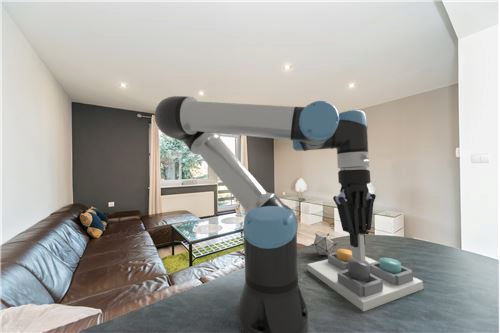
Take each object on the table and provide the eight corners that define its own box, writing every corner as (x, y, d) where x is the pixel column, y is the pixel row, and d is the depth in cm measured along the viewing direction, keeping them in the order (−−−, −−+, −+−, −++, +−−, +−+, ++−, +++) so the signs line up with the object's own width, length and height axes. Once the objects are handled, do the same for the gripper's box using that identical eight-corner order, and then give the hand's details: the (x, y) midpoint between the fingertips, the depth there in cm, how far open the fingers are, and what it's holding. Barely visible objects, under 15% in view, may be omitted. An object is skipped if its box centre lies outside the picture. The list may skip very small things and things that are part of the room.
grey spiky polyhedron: (326, 263, 73) (336, 239, 76) (333, 264, 65) (343, 239, 68) (305, 249, 76) (315, 227, 79) (309, 250, 68) (320, 225, 71)
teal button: (394, 280, 49) (393, 267, 50) (375, 271, 54) (374, 259, 54) (406, 276, 51) (405, 263, 51) (387, 268, 56) (386, 256, 56)
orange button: (345, 267, 57) (345, 256, 57) (333, 260, 61) (332, 250, 62) (357, 264, 58) (357, 253, 59) (344, 258, 63) (344, 247, 63)
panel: (363, 311, 42) (362, 291, 42) (307, 270, 61) (307, 256, 61) (423, 288, 50) (422, 272, 50) (357, 258, 68) (356, 246, 68)
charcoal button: (360, 283, 45) (359, 268, 46) (343, 273, 50) (343, 260, 50) (375, 278, 47) (374, 264, 47) (357, 269, 52) (356, 256, 52)
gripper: (346, 168, 44) (352, 270, 43) (384, 168, 49) (390, 259, 48) (323, 170, 51) (328, 257, 50) (358, 169, 56) (363, 249, 55)
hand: (358, 258), depth 49 cm, fingers closed
